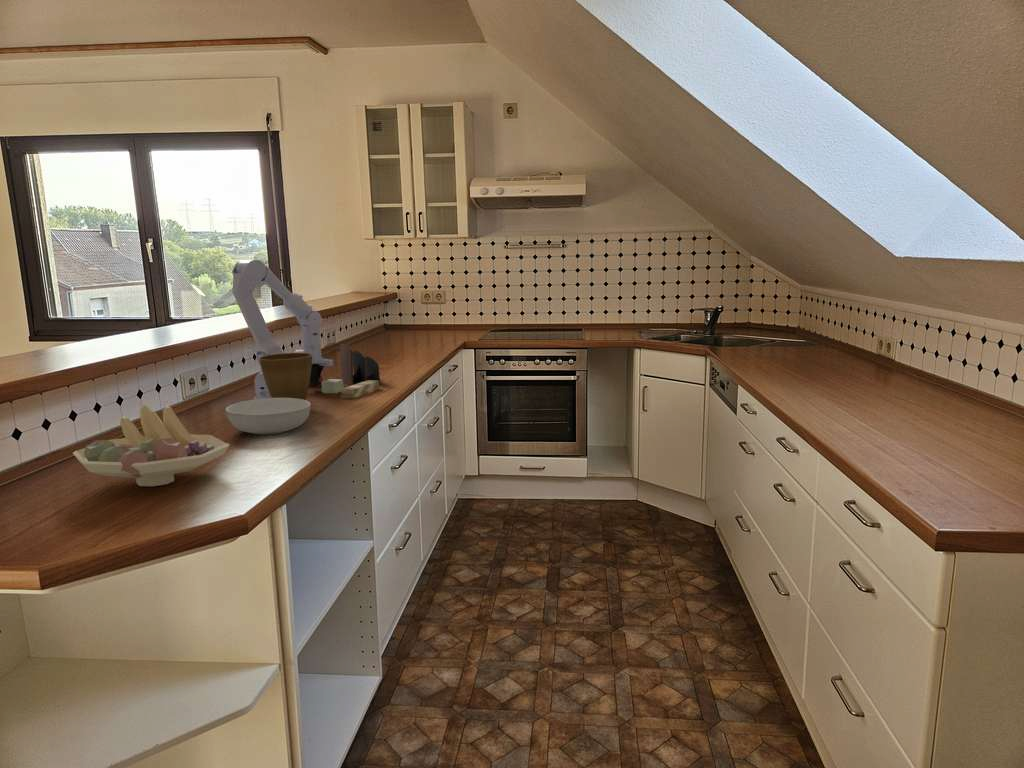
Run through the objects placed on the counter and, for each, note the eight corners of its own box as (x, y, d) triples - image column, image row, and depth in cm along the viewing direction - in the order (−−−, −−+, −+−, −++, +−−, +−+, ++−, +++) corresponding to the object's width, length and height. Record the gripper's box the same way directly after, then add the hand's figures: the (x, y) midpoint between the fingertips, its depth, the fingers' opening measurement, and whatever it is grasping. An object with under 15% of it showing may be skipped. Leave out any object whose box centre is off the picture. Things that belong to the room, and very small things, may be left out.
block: (334, 394, 231) (334, 382, 230) (322, 393, 232) (321, 381, 232) (343, 391, 235) (342, 379, 234) (331, 390, 237) (330, 378, 236)
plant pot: (323, 403, 216) (319, 352, 213) (304, 414, 201) (300, 359, 198) (276, 403, 217) (272, 352, 214) (254, 414, 203) (249, 359, 200)
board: (352, 398, 222) (352, 389, 222) (341, 398, 224) (341, 388, 223) (379, 389, 237) (378, 380, 236) (369, 388, 238) (368, 380, 238)
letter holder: (351, 389, 239) (349, 347, 237) (340, 379, 257) (338, 341, 254) (380, 386, 243) (378, 346, 240) (368, 377, 261) (366, 339, 258)
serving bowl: (287, 443, 172) (285, 415, 170) (210, 439, 176) (208, 412, 175) (326, 422, 192) (324, 398, 190) (256, 420, 196) (254, 395, 195)
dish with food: (191, 454, 162) (185, 394, 160) (257, 477, 145) (251, 410, 142) (54, 486, 141) (45, 418, 139) (113, 518, 124) (103, 440, 121)
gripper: (337, 345, 235) (340, 385, 237) (301, 344, 240) (304, 383, 242) (324, 348, 228) (327, 389, 231) (288, 346, 233) (291, 386, 236)
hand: (314, 386), depth 236 cm, fingers closed
